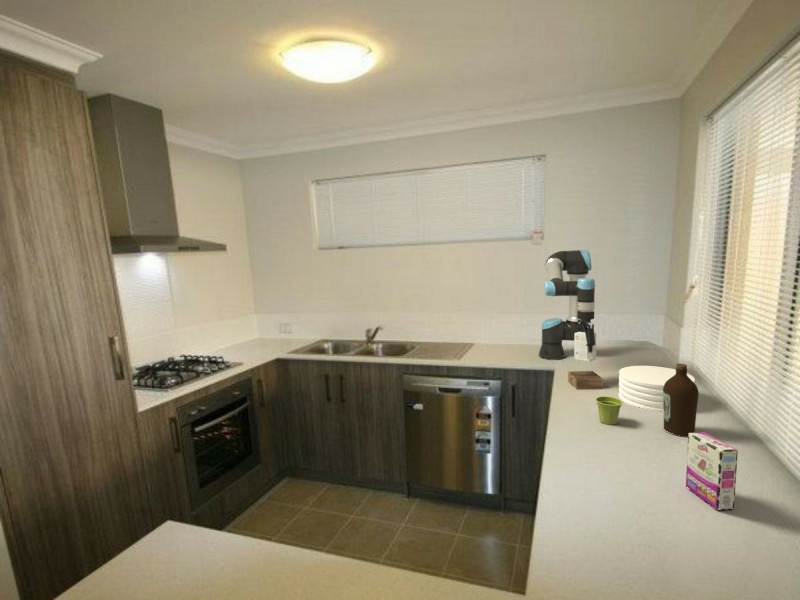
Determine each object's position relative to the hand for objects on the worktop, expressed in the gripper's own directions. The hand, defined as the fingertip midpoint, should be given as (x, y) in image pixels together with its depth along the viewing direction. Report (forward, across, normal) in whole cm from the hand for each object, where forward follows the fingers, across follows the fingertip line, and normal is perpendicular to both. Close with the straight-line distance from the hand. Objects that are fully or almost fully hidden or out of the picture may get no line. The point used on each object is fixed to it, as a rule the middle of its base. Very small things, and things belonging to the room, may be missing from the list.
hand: (585, 356), depth 203 cm
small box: (+2, 0, 0) cm, 2 cm away
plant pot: (+15, +43, -7) cm, 46 cm away
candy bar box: (+15, +92, -2) cm, 94 cm away
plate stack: (+15, +21, +22) cm, 34 cm away
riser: (+15, 0, 0) cm, 15 cm away
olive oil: (+15, +52, +14) cm, 56 cm away
